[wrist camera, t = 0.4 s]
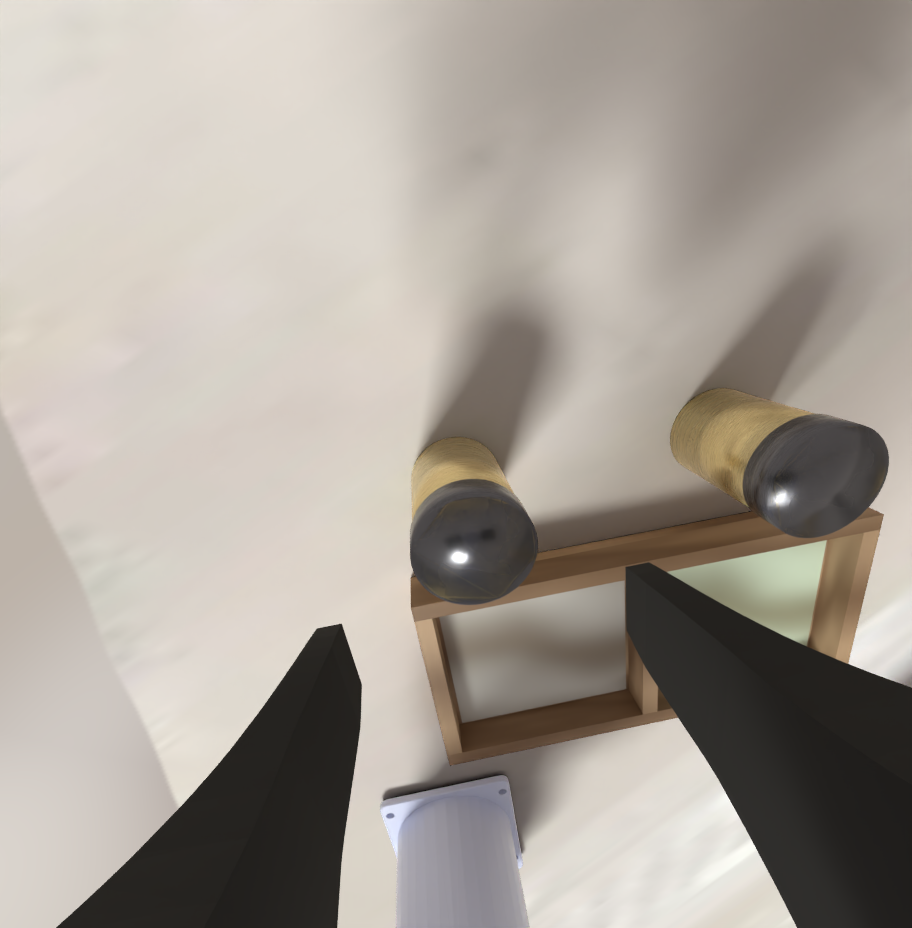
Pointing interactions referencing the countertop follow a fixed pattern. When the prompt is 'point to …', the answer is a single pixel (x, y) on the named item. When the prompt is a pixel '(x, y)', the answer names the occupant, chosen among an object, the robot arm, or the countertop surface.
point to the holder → (623, 627)
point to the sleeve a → (467, 525)
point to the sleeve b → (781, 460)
